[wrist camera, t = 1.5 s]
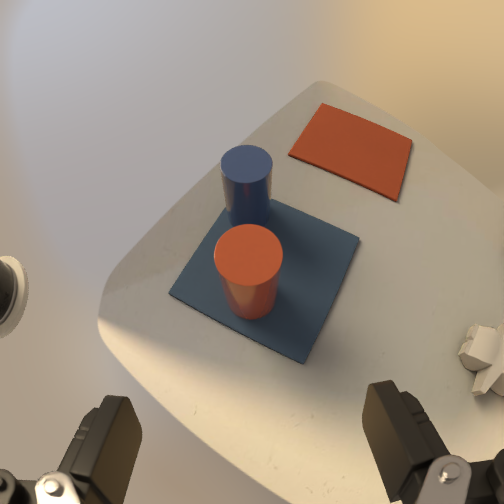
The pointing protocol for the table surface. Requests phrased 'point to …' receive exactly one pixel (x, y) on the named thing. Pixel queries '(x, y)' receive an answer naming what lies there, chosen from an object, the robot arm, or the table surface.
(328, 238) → the blue mat
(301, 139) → the terracotta mat
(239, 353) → the table surface
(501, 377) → the bunny figurine
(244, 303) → the terracotta canister
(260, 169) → the blue canister
